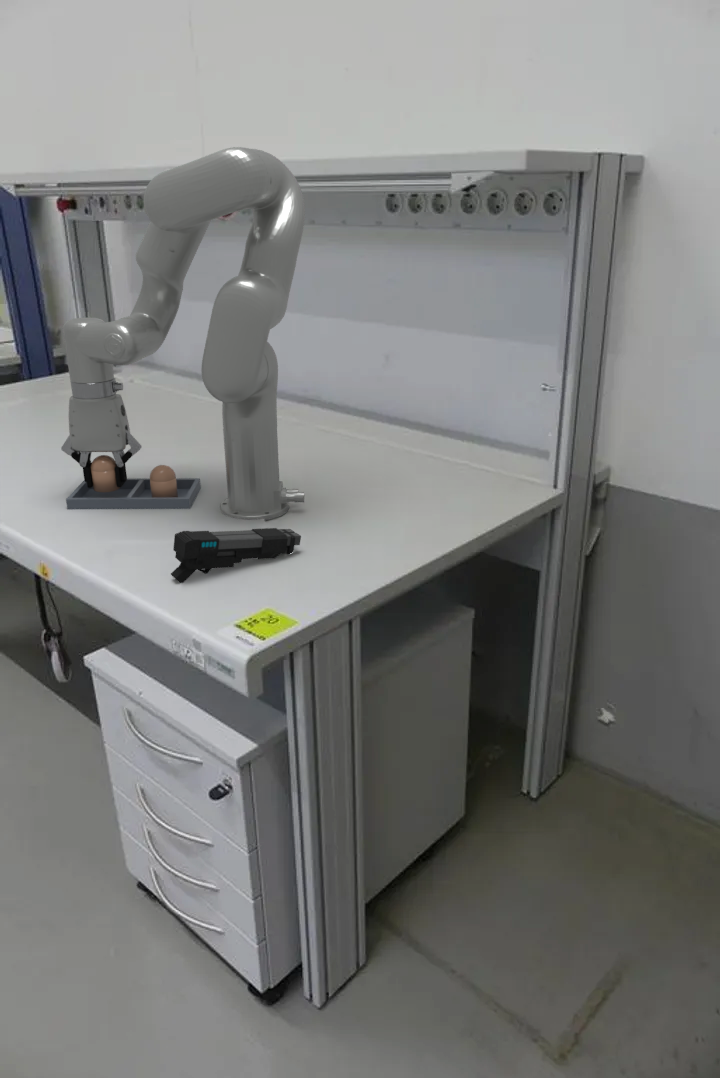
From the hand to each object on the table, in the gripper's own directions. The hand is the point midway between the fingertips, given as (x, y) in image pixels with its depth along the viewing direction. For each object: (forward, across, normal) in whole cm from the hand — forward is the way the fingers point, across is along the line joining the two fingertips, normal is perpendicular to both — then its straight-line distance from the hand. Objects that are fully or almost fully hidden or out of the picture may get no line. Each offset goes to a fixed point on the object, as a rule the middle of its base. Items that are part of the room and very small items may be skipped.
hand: (106, 484), depth 152 cm
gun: (+4, -28, +29) cm, 41 cm away
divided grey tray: (+3, -5, 0) cm, 6 cm away
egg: (+1, 0, 0) cm, 1 cm away
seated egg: (+3, -11, 0) cm, 11 cm away
